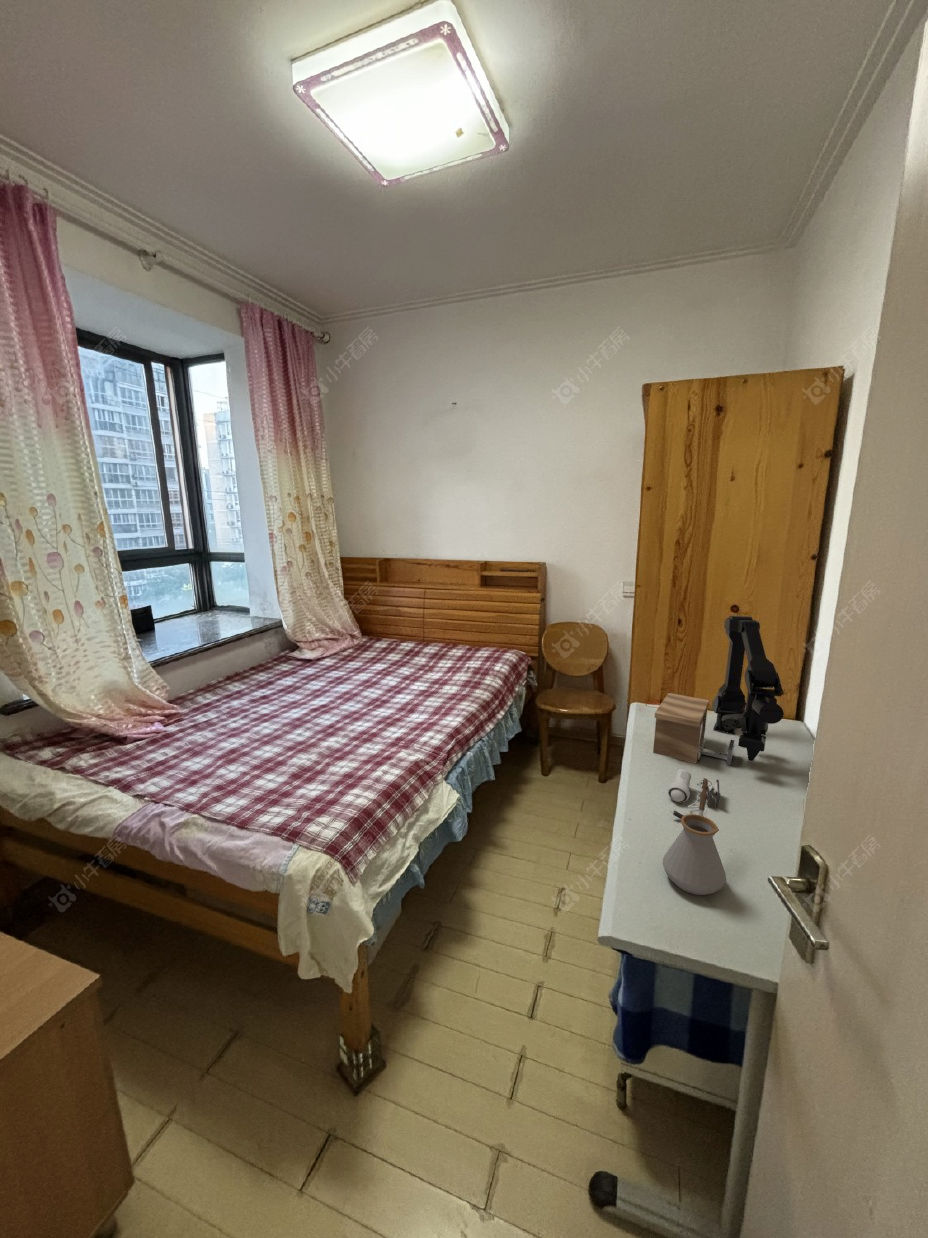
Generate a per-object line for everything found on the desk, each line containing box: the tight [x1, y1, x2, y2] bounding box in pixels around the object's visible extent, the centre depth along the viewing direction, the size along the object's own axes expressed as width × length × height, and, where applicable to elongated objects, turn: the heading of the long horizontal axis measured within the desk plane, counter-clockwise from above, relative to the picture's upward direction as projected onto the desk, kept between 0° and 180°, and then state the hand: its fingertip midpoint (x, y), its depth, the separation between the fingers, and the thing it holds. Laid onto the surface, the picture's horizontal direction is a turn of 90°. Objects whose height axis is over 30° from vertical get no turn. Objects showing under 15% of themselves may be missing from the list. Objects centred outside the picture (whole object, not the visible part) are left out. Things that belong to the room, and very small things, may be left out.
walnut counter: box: [652, 692, 710, 764], centre depth 154 cm, size 20×12×14 cm, turn 147°
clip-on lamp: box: [667, 768, 722, 820], centre depth 125 cm, size 12×6×18 cm
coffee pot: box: [662, 778, 727, 896], centre depth 102 cm, size 21×12×15 cm, turn 150°
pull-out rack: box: [697, 737, 735, 766], centre depth 152 cm, size 11×17×4 cm, turn 57°
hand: (750, 760), depth 145 cm, fingers closed
